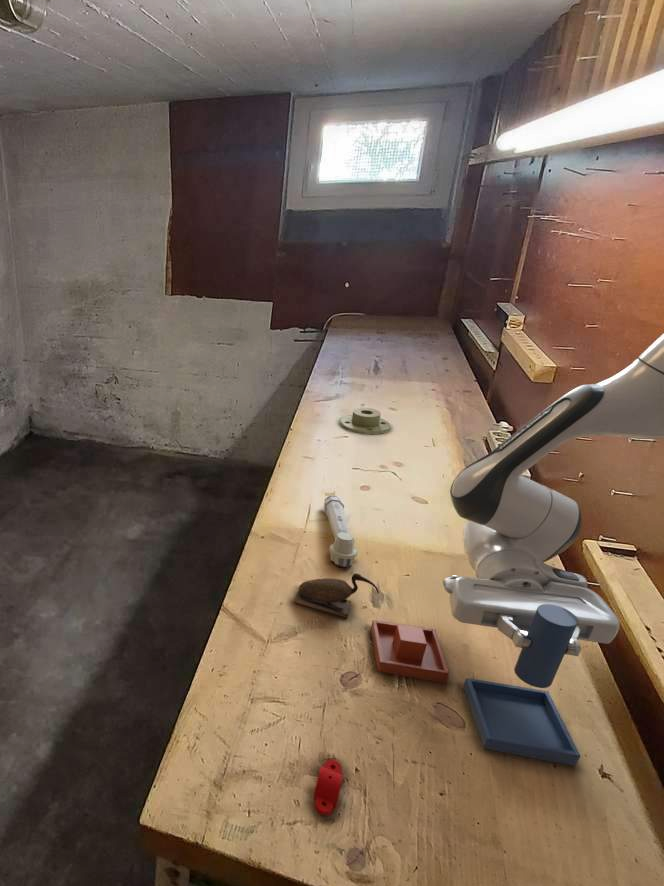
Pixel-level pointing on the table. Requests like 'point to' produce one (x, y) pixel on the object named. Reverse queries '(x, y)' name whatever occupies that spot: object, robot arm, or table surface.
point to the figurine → (329, 594)
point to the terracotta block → (409, 643)
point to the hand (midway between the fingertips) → (548, 648)
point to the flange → (365, 422)
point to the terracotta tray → (388, 663)
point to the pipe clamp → (328, 787)
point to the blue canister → (546, 645)
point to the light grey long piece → (339, 533)
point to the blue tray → (519, 721)
